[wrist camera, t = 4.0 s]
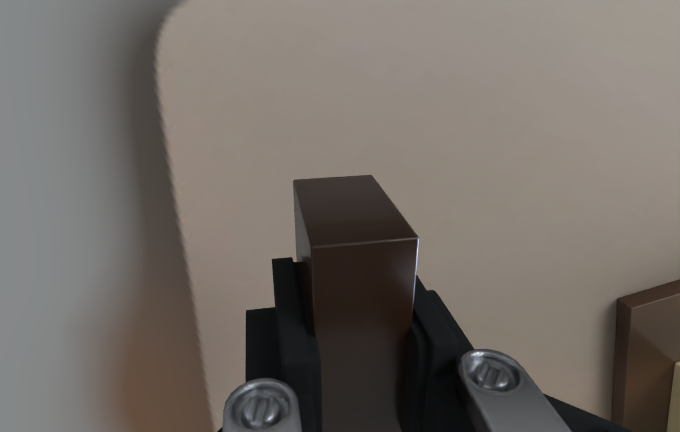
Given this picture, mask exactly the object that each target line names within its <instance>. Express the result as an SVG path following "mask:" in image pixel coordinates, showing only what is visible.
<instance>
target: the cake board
mask: <svg viewBox="0 0 680 432" xmlns="http://www.w3.org/2000/svg"><path fill="white" fill-rule="evenodd" d="M679 361H680V280H677V281H674V282H670V283H667V284H664V285H661V286H657V287H654V288H651V289H648V290H644V291H641V292H638V293H635V294H631V295H628V296H625V297H622V298H618V305H617V325H616V345H615V366H614V386H613V407H612V422H613V423H615V424H617V425H620V426H622V427H624V428H626V429H628V430H630V431H632V432H666V430H667V422H668V414H669V406H670V398H671V390H672V382H673V374H674V366H675V363H676V362H679Z"/></svg>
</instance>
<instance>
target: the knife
mask: <svg viewBox="0 0 680 432" xmlns="http://www.w3.org/2000/svg"><path fill="white" fill-rule="evenodd" d="M293 191H294V213H295V235H296V257H297V262H298V263H299V268H300V273H301V278H302V283H303V288H304V293H305V298H306V303H307V308H308V313H309V318H310V323H311V328H312V333H313V337H314V338H317V343H318V348H319V353H320V361H321V384H322V432H402V431H401V428H402V416H403V404H404V393H405V381H406V369H407V357H408V346H409V334H410V326H412V315H413V304H414V292H415V280H416V268H417V256H418V245H419V237H418V236H417V234H416V233H415V232H414V230H413V229H412V228H411V226H410V225H409V224H408V222H407V221H406V220H405V218H404V217H403V216H402V214H401V213H400V212H399V210H398V209H397V208H396V206H395V205H394V204H393V202H392V201H391V200H390V199H389V197H388V196H387V195H386V193H385V192H384V191H383V189H382V188H381V187H380V185H379V184H378V183H377V181H376V180H375V179H374V177H373V176H372V175H363V176H347V177H331V178H315V179H299V180H294V181H293Z"/></svg>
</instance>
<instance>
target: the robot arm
mask: <svg viewBox="0 0 680 432" xmlns="http://www.w3.org/2000/svg"><path fill="white" fill-rule="evenodd" d="M272 268H273V282H274V296H275V307H272V308H263V309H254V310H246V383H244V384H242V385H240V386H239V387H238V388H236V389H235V390H234V391H233V392H232V393H231V394H230V396H229V397H228V399H227V400H226V402H225V406H224V410H223V427H222V428H221V429H220V430H219V431H217V432H322V384H321V361H320V353H319V348H318V343H317V338H314V337H313V333H312V328H311V323H310V318H309V313H308V308H307V303H306V298H305V293H304V288H303V283H302V278H301V273H300V268H299V263H298V262H293V259H292V257H289V258H278V259H272ZM401 431H402V432H632V431H630V430H628V429H626V428H624V427H622V426H620V425H617V424H615V423H613V422H610V421H608V420H605V419H603V418H601V417H598V416H596V415H593V414H591V413H589V412H586V411H584V410H581V409H579V408H577V407H574V406H572V405H570V404H567V403H565V402H562V401H560V400H558V399H555V398H553V397H550V396H548V395H546V394H543V393H542V392H541V390H540V389H539V388H538V387H537V385H536V384H535V383H534V381H533V380H532V379H531V377H530V376H529V375H528V373H527V372H526V371H525V369H524V368H523V367H522V366H521V365H520V364H519V363H518V362H517V361H516V360H514V359H513V358H511V357H510V356H508V355H506V354H504V353H501V352H499V351H495V350H490V349H474V348H473V346H472V345H471V343H470V342H469V340H468V339H467V337H466V336H465V334H464V333H463V331H462V330H461V328H460V327H459V325H458V324H457V322H456V321H455V319H454V318H453V316H452V315H451V313H450V312H449V310H448V309H447V307H446V306H445V305H444V303H443V302H442V300H441V299H440V297H439V296H438V294H437V293H436V292H435V291H433V290H429V291H427V290H426V289H425V287H424V286H423V284H422V283H421V281H420V279H419V278H418V276H417V275H416V280H415V292H414V304H413V315H412V326H410V334H409V346H408V357H407V369H406V381H405V393H404V404H403V416H402V428H401Z"/></svg>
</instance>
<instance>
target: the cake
mask: <svg viewBox="0 0 680 432" xmlns="http://www.w3.org/2000/svg"><path fill="white" fill-rule="evenodd" d="M666 432H680V361H679V362H676V363H675V366H674V374H673V382H672V390H671V398H670V406H669V414H668V422H667V430H666Z"/></svg>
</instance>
